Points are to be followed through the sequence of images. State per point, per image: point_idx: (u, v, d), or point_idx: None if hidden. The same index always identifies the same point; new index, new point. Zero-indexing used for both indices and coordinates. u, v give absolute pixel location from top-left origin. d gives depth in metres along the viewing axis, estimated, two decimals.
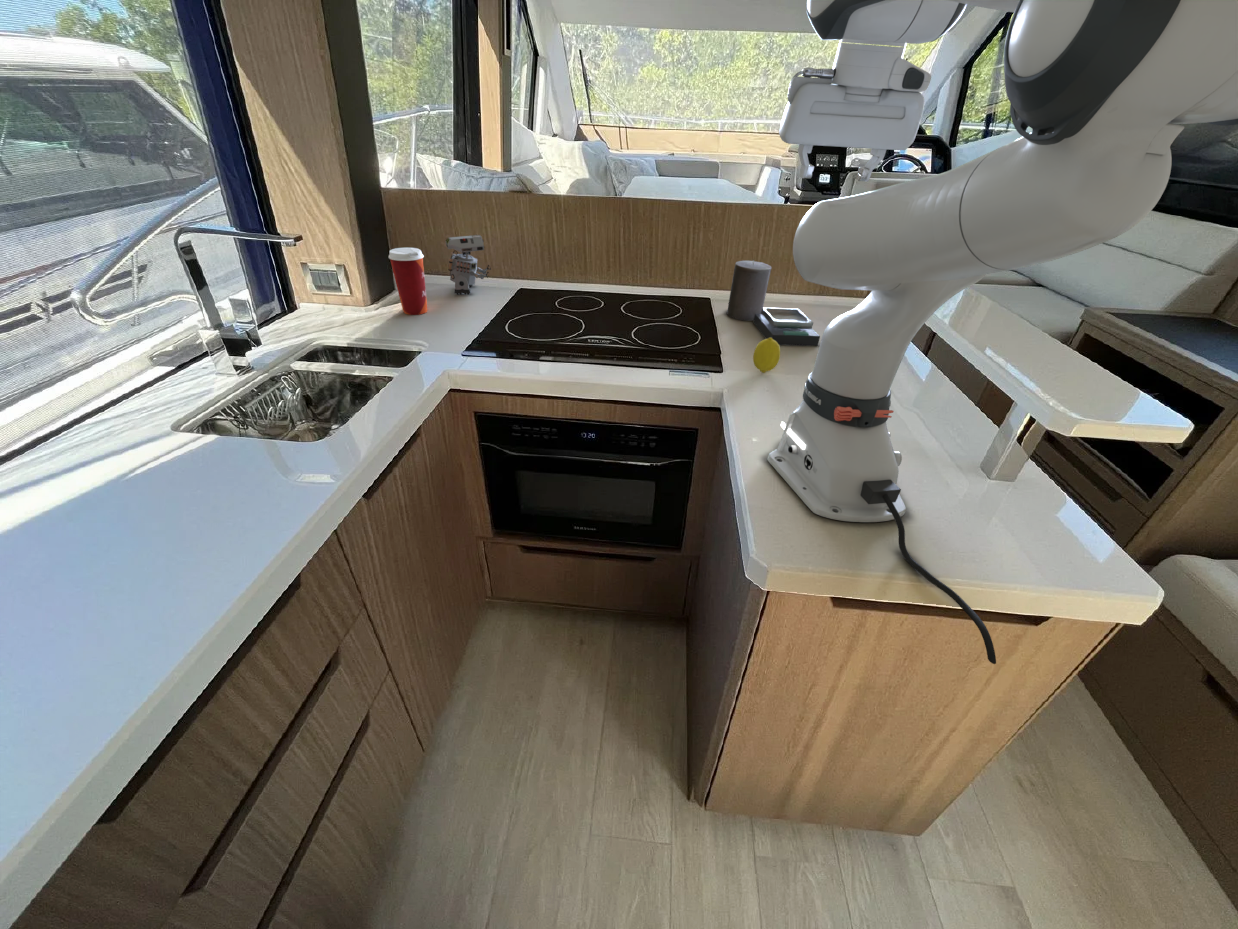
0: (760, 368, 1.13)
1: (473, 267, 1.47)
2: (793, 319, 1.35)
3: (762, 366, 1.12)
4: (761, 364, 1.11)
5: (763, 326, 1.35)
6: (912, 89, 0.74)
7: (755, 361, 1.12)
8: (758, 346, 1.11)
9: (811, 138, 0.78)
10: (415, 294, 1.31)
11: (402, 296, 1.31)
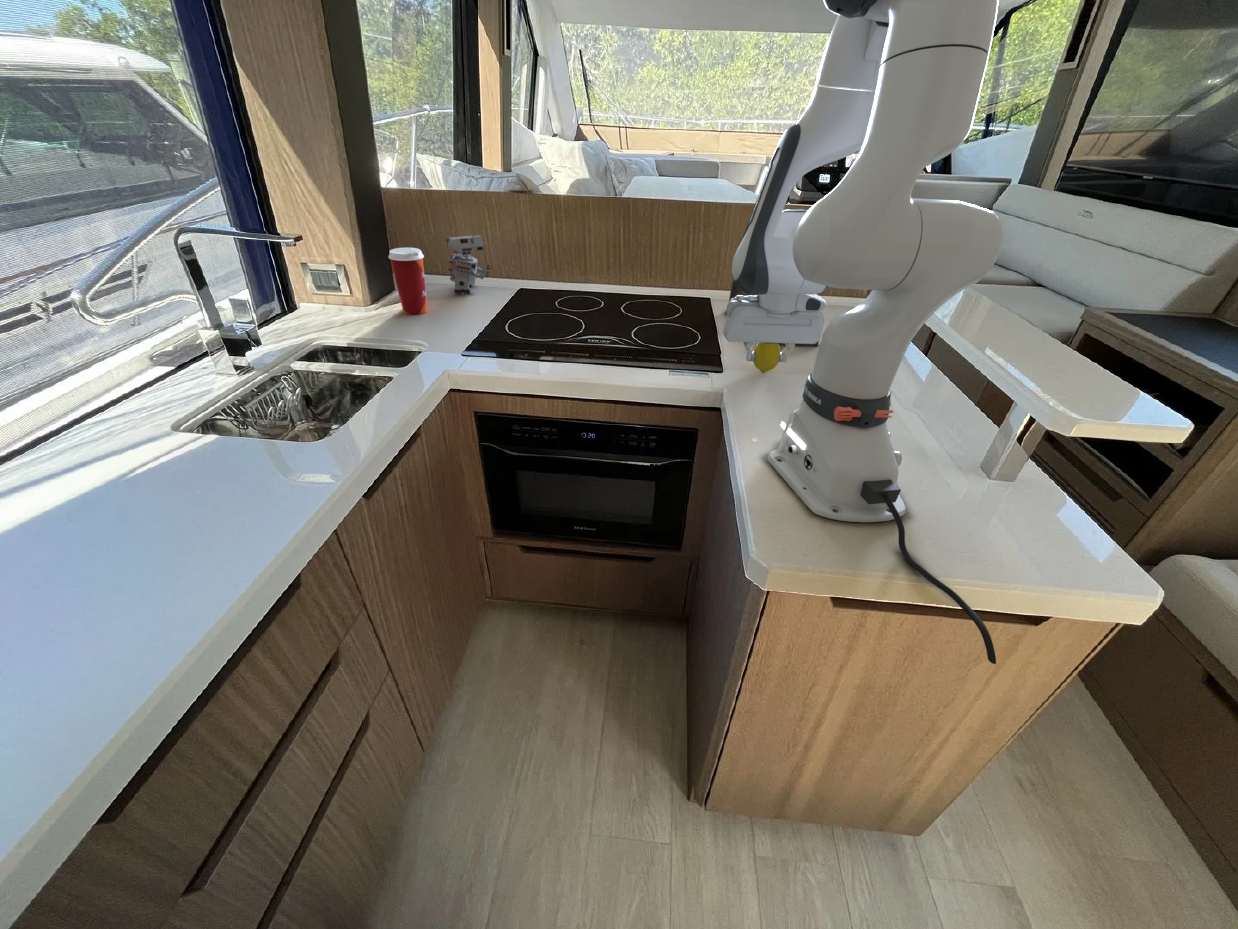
0: (760, 368, 1.13)
1: (473, 267, 1.47)
2: None
3: (762, 366, 1.12)
4: (761, 364, 1.11)
5: None
6: (813, 310, 1.04)
7: (755, 361, 1.12)
8: (758, 346, 1.11)
9: (745, 338, 1.08)
10: (415, 294, 1.31)
11: (402, 296, 1.31)
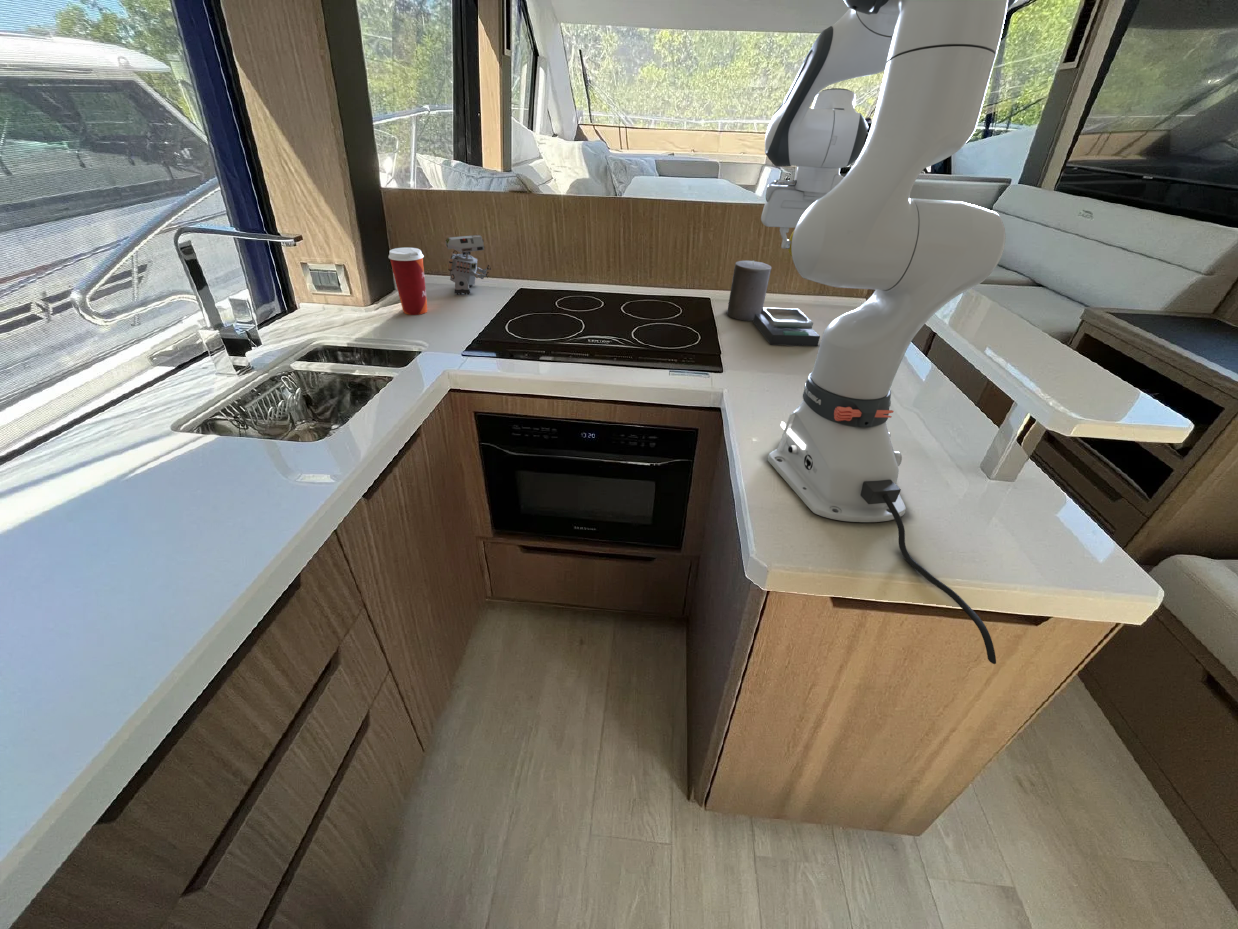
0: None
1: (473, 267, 1.47)
2: (793, 319, 1.35)
3: None
4: None
5: (763, 326, 1.35)
6: None
7: (790, 248, 1.20)
8: (793, 232, 1.19)
9: (782, 223, 1.16)
10: (415, 294, 1.31)
11: (402, 296, 1.31)
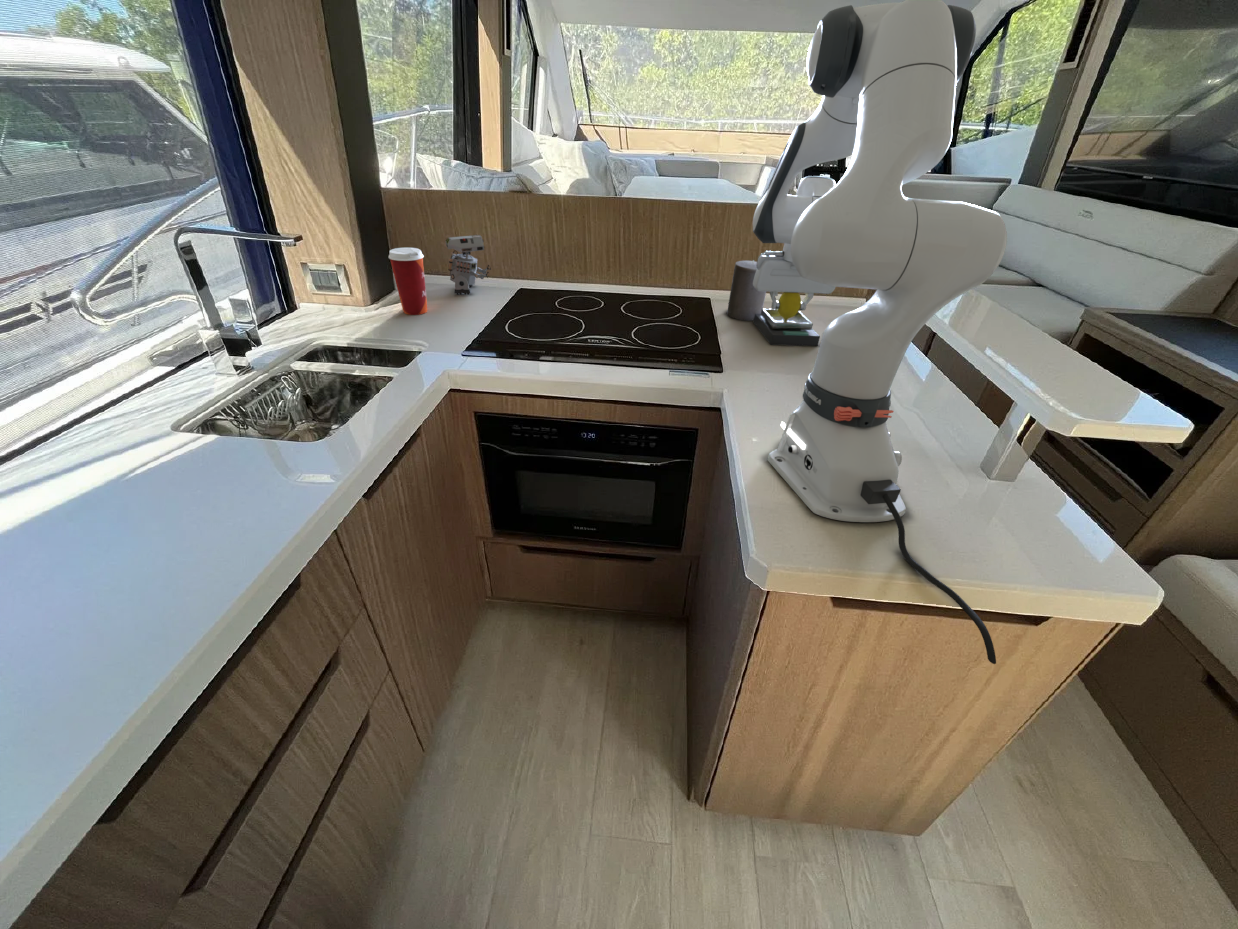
0: (784, 315, 1.33)
1: (473, 267, 1.47)
2: (793, 320, 1.35)
3: (785, 313, 1.32)
4: (784, 311, 1.32)
5: (763, 326, 1.35)
6: None
7: (779, 309, 1.33)
8: (782, 296, 1.32)
9: (772, 288, 1.29)
10: (415, 294, 1.31)
11: (402, 296, 1.31)
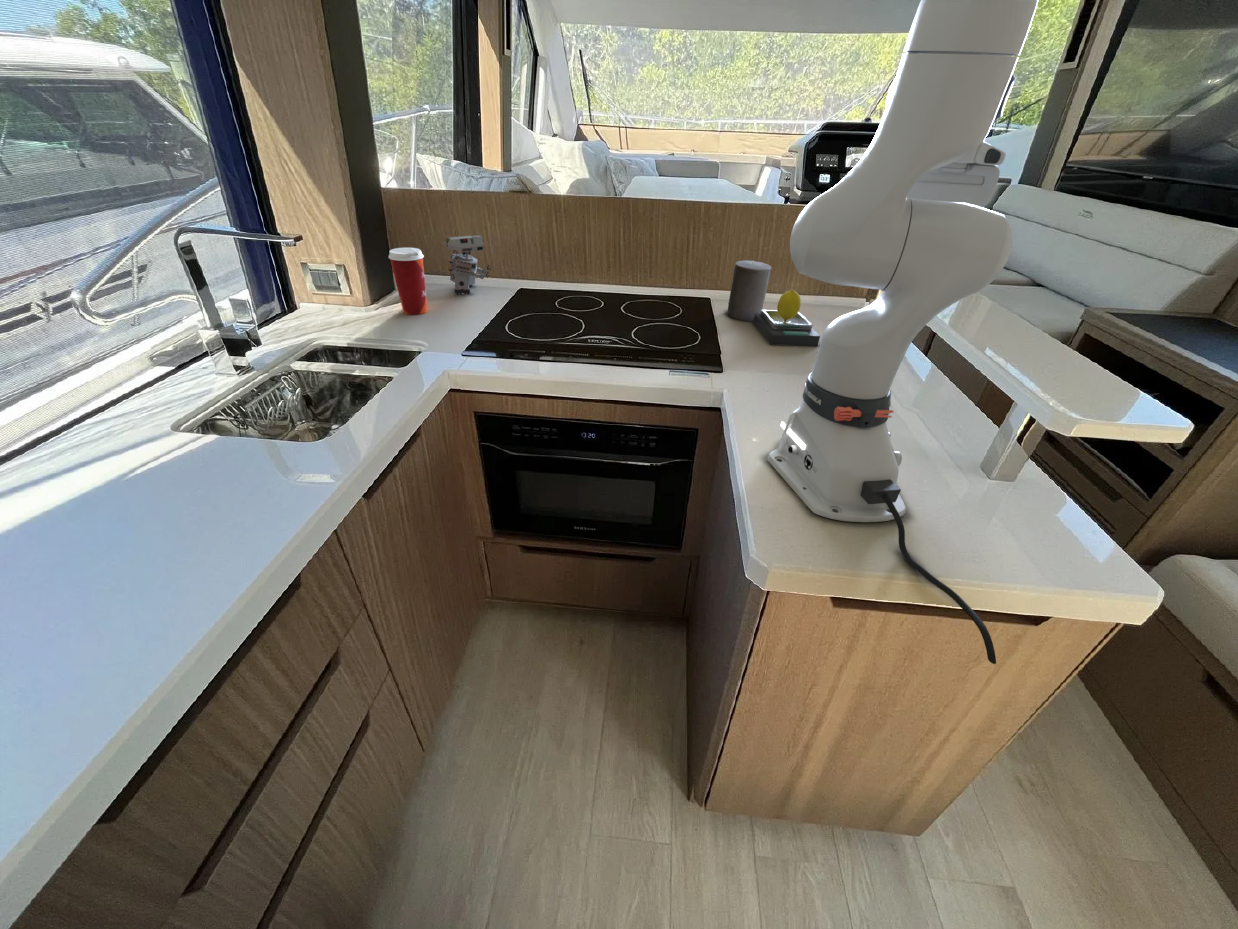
0: (783, 316, 1.33)
1: (473, 267, 1.47)
2: (792, 321, 1.35)
3: (785, 314, 1.32)
4: (784, 312, 1.32)
5: (763, 326, 1.35)
6: (991, 163, 0.98)
7: (779, 310, 1.33)
8: (782, 297, 1.32)
9: (912, 199, 1.02)
10: (415, 294, 1.31)
11: (402, 296, 1.31)
